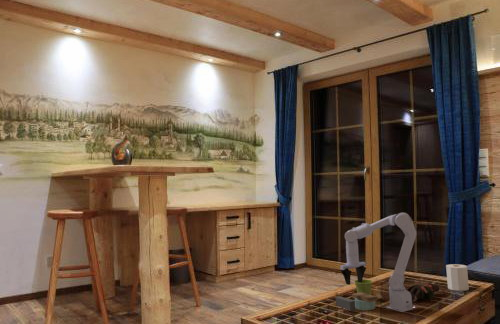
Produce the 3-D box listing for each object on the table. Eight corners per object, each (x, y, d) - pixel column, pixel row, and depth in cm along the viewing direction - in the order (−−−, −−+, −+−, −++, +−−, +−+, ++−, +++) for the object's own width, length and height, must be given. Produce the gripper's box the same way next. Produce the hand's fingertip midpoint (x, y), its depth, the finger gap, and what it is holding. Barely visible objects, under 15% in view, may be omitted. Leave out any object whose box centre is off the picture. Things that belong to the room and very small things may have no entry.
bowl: (379, 308, 192) (378, 299, 192) (365, 311, 187) (364, 302, 188) (365, 303, 200) (364, 295, 200) (351, 307, 195) (350, 298, 196)
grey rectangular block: (355, 310, 189) (354, 300, 190) (350, 311, 188) (349, 301, 188) (341, 305, 198) (340, 296, 198) (336, 306, 197) (335, 297, 197)
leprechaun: (394, 295, 204) (421, 281, 219) (405, 313, 200) (432, 298, 215) (409, 287, 196) (436, 273, 211) (421, 306, 192) (448, 290, 207)
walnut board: (377, 300, 190) (377, 296, 190) (368, 302, 188) (368, 298, 188) (360, 295, 200) (360, 292, 200) (352, 297, 197) (351, 294, 197)
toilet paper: (455, 291, 214) (453, 268, 215) (443, 287, 224) (441, 264, 225) (473, 290, 215) (471, 266, 216) (460, 285, 226) (458, 263, 227)
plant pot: (352, 300, 207) (351, 282, 208) (357, 295, 216) (356, 278, 216) (371, 301, 203) (370, 283, 203) (375, 296, 211) (374, 279, 212)
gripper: (357, 252, 206) (359, 279, 205) (335, 255, 199) (337, 283, 199) (368, 253, 200) (369, 282, 199) (345, 257, 193) (347, 286, 192)
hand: (354, 283), depth 199 cm, fingers open, 7 cm apart
